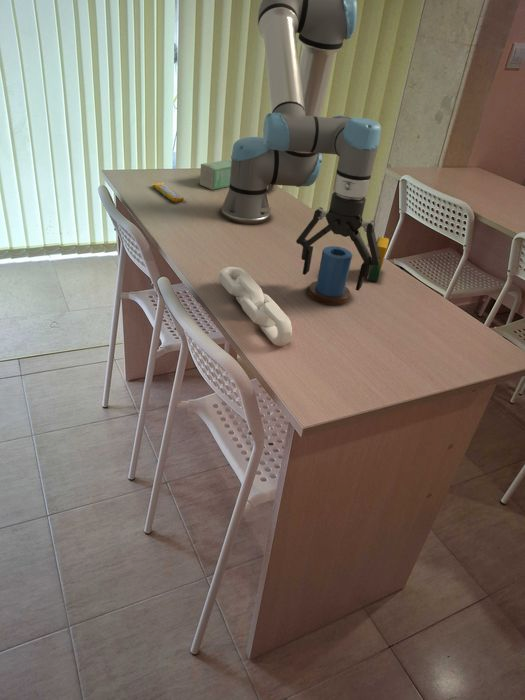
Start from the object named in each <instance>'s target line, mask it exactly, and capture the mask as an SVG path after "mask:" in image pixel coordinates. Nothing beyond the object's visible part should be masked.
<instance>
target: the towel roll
mask: <svg viewBox="0 0 525 700" xmlns="http://www.w3.org/2000/svg"><path fill="white" fill-rule="evenodd" d="M334 254H339V255H340V256H337V255H334ZM352 258H353V253H352V252H351V250H349V249H347V248H345V247H341V246H338V245H337V246H335V245H334V246H333V245H330V246H325V247H324V248H323V249H322V253H321V258H320V263H319V269H318V275H317V280H316V281H317V284H316V289H317V291H318V292H320V293H321V294H323V295H327V296H334V297H337V296H341V295H342V294H343V293H344V290H345V286H346V285H347V281H348V277H349V272H350V268H351V264H352V260H353V259H352ZM346 287H347V286H346Z"/></svg>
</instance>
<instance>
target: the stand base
mask: <svg viewBox="0 0 525 700" xmlns="http://www.w3.org/2000/svg"><path fill="white" fill-rule="evenodd" d="M316 284H317V280H315V281H313V282H311V284H310V285H309V288H308V294H309V296H310V297H311V299H313V300H314V301H316V302H318V303H320V304H323V305H329V306H340V305H344V304H347V302H349V300H350V295H351V291H350V289H349V288H348V287H347V286H345V290H344V293H343V294H342V295H341V296H337V297H334V296H327V295H323V294H321V293H320V292H318V291H317V289H316Z"/></svg>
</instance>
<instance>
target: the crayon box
mask: <svg viewBox="0 0 525 700" xmlns="http://www.w3.org/2000/svg"><path fill="white" fill-rule="evenodd" d="M380 234H381V229H380V230H379V233H378V236H377V238H376V241H377V245H378V249H379V253H380V258H381V261H380V262H379V264H378V265H377V266H375V265H371V268H370V272H369V275H368V277H367V278H366V280H367V281H370V282H374V283H378V282H379V278H380V275H381V271H382V268H383V264H384V259H385V256H386V253H387V249H388V245H389V242H390V239H389V238H388V237H383V236H380Z"/></svg>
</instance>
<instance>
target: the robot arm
mask: <svg viewBox="0 0 525 700" xmlns="http://www.w3.org/2000/svg"><path fill="white" fill-rule="evenodd" d="M357 13H358V2H357V0H261V3H260V6H259V8H258V13H257V27H258V32H259V35H260V37H261V38H262V39H263V43H264V45H263V46H264V55H265V62H266V72H267V73H266V74H267V82H268V91H269V102H270V111H271V112H268V113H267V114H266V115H265V117H264V121H263V127H262V132H263V133H262V136H247V137H243V138H240V139H237V140H236V141H234V143H233V145H232V150H231V156H230V161H231V173H230V186H229V188H228V191H227V193H226V196H225V199H224V201H223V203H222V206H221V215H222V217H223V218H225V219H226V220H228V221H231V222H234V223H237V224H242V225H260V224H264V223H266V222H268V221H269V220H270V215H271V209H272V207H271V206H270V204H269V200H268V196H267V193H269V192H271V191H272V190H273V189H274V186H284V187H285V186H286V187H287V186H288V187H296V188H300V187H310V186H312V185H313V184H314V183H315V182H316V181H317V179H318V177H319V175H320V172H321V168H322V161H323V154H324V155H326V154H327V155H337V156H338V162H337V168H336V172H335V176H334V177H335V178H334V183H333V188H332V189H333V192H332V194H331V199H330V204H329V210H328V211H326V210H324V208H323V207H321V206H319V207H318V208H316V210H315V211H314V213H313V217H312V219H311V220H310V221H309V223H308V224H307V226H306V227H305V228H304V230H303V231H302V232H301V233H300V234H299V236H298V237H297V239H296V241H295V243H296V244H297V245H300V246H302V251H301V260H302V261H304V262H303V269H302V275H304V276H306V275H307V274H308V273H309V272H310V268H311V263H312V258H313V257H312V256H313V252H314V246H312V245H313V244H315V243H316V242H317V241H318V240H320V239H321V238H322V237H324V236H325V235H327V234H328V233H329V232H332V233H333V234H334V235H340V236H342V237H345V238H347V237H349V238H350V240H351V241H352V242H353V244H354V246H355V248H356V250H357V252H358V255H360V257H361V260H362V261H363V262H362V263H361V265H360V269H359V274H358V277H357V282H356V286H355V291H360V290H361V288H362V286H363V281H364V279H367V278H368V275H369V272H370V268H371V265H375V266H377V265H378V264H379V262H380V261H381V258H380V253H379V249H378V245H377V237H376V233H375V227H376V222H375V220H370V221H366V220H363V214H364V209H365V205H366V200H367V199H366V197H367V196H368V192H369V188H370V183H371V178H372V173H373V169H374V165H375V160H376V156H377V152H378V148H379V145H380V142H381V141H380V138H381V133H382V126H381V124H380V123H379V122H378V121H377V120H373V119H371V118H366V117H357V116H356V117H355V116H354V117H349V116H346V115H342V114H338V115H335V116H332V117H325V116H321V115H322V110H323V107H324V102H325V98H326V93H327V88H328V84H329V80H330V75H331V70H332V66H333V62H334V57H335V54H336V53H337V52H339V51H340V50H341V49H342V48H343V43H344V40H348V39H349V40H350V39H351V38H352V36H353V34H354V33H355V29H356V24H357V16H358V14H357ZM296 34H298V37H296ZM297 40H298V42H299V43H300V45H301V47H302V49H301V54H300V58H299V53H298V43H297ZM268 185H269V188H268ZM324 218H325V220H326V222H327V225H326V226H325V227H323V228H321V230H319V231H318V232H316V233H315V234H314V235H313V236H311V237H310V238H308V239H306V238H307V237H308V236H309V235H310V233H311V232H312V230H313V229H314V228H315V227H316V225H318V222H319V221H320V220H323V219H324ZM361 227H362V228H363V232H365V235H366V239H367V244H368V247H369V248H367V246H366V243H365V241H364V240H363V238H362V235H361V232H360V230H359V229H361Z"/></svg>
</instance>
